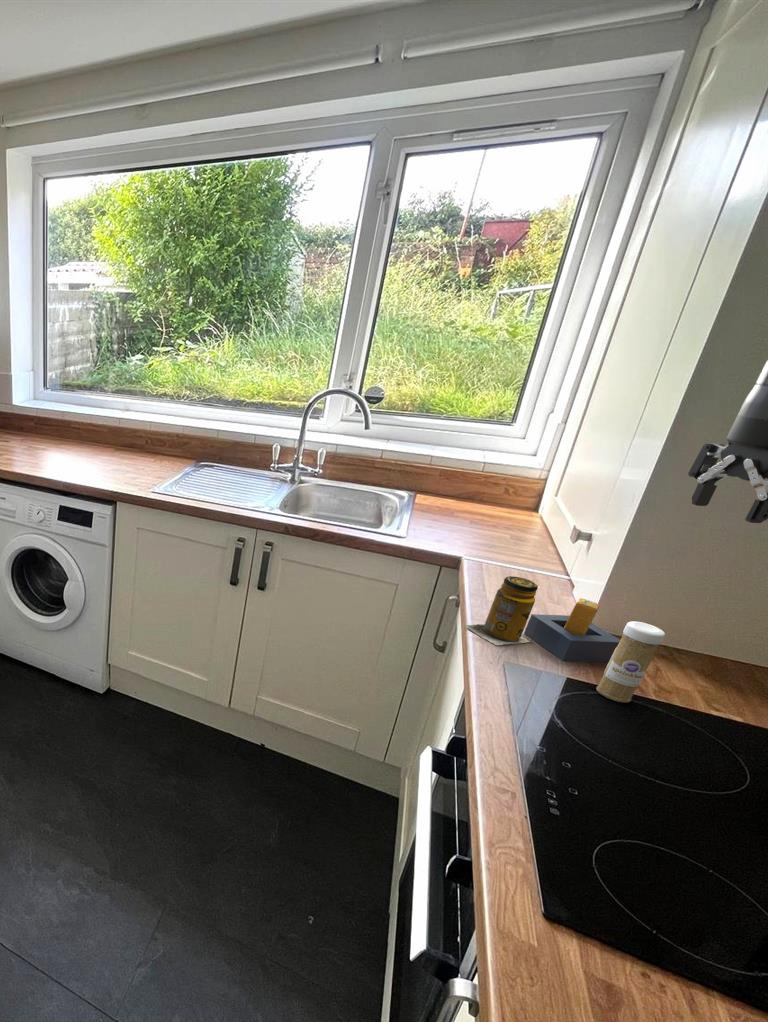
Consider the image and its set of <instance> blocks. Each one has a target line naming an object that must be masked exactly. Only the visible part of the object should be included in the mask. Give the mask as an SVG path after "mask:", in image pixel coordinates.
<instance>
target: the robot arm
mask: <svg viewBox="0 0 768 1022" xmlns="http://www.w3.org/2000/svg"><path fill="white" fill-rule="evenodd" d="M726 441H727V442H728V443H727V444H726V445H725V444H724V443H711V442H710V443H708V442H707V443H704V444H703V445H702V446H701V449H700V451H699V452H698V454H697V456H696V458H695V459H694V462H693V464H692V465H691V467H690V469H689V471H688V473H687V475H688V476H689V477H690V478H694V479H695V480H696V481H697V486H696V487H695V489H694V492H693V494H692V495H691V505H693V506H698V507H706V506H708V505H709V504H710V501H711V500H712V498H713V496H714V493H715V491H716V490H717V488H718V485H717V484H718V483H719V482H722V481H723V480H724V479H726V478H730V477H732V478H735V477H736V478H739V479H740V480H743V481H747V482H748V481H749V482H750V486H751V487H752V488H754V489H755V492H756V496H757V499H754V502H753V503H752V505H751V507H750V509H749V511H748V513H747V515H746V517H745V518H744V520H745V522H747V523H751V524H762V523H763V522H765V521H767V520H768V358H767V360H766V361H765V363H764V365H763V367H762V369H761V371H760V373H759V374H758V377H757V379H756V381H755V384H754V385H753V387H752V389H751V390H750V391H749V393H748V394H747V396H746V397H745V399H744V401H743V403H742V405H741V406H740V409H739V411H738V413H737V415H736V417H735V420H734V422H733V424H732V426H731V427H730V430H729V432H728V434H727V436H726ZM720 458H721V461H720V462H718V461H719V459H720ZM717 462H718V463H717ZM766 479H767V480H766Z"/></svg>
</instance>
